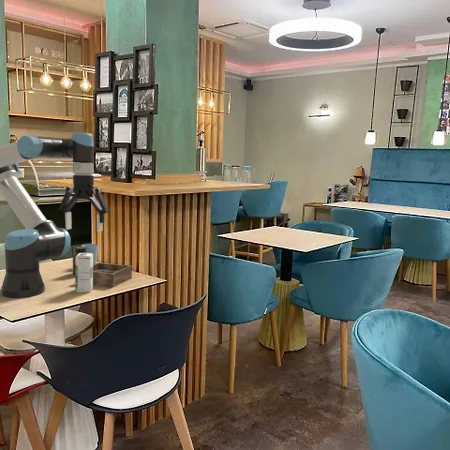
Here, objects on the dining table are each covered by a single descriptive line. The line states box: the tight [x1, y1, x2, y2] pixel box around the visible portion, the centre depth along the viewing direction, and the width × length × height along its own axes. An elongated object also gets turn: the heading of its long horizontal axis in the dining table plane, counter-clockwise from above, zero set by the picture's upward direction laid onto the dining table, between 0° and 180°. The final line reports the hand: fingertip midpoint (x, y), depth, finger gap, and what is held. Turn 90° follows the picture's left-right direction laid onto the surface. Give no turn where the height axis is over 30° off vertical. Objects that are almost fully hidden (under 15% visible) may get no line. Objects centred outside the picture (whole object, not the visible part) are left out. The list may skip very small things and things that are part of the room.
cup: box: [81, 243, 99, 265], centre depth 215 cm, size 8×8×10 cm
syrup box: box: [74, 253, 94, 293], centre depth 175 cm, size 6×6×14 cm
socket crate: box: [93, 262, 133, 288], centre depth 191 cm, size 16×16×6 cm
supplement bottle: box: [72, 246, 87, 276], centre depth 200 cm, size 7×7×12 cm
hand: (84, 230), depth 173 cm, fingers open, 13 cm apart
